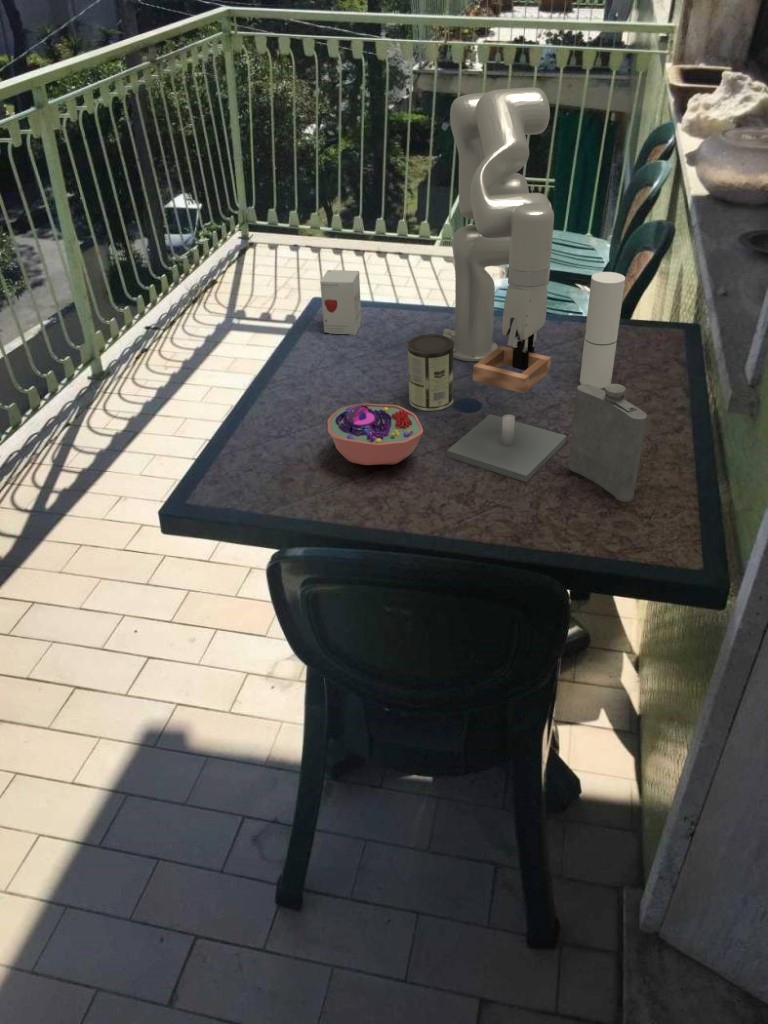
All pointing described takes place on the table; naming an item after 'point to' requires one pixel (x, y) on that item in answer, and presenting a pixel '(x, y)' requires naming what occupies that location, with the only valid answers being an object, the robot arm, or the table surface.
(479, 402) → the table surface
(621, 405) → the hip flask
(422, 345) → the coffee can
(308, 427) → the table surface
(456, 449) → the stand
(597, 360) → the cylindrical container
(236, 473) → the table surface
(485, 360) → the ring
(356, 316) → the supplement box
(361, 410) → the cell model
